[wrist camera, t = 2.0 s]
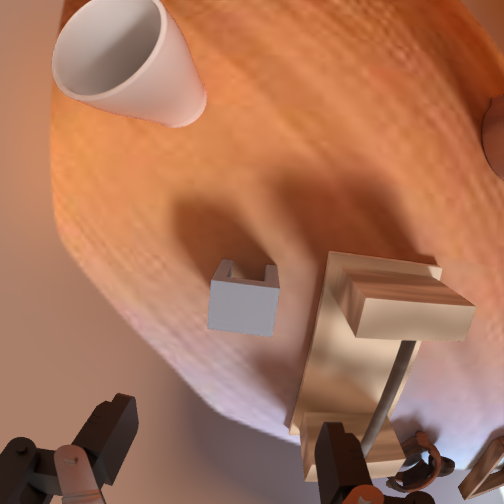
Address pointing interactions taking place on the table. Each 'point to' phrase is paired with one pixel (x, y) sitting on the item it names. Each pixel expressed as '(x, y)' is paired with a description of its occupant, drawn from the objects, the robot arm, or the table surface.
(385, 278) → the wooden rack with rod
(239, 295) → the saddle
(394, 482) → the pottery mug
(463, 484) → the open wooden frame
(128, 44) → the drinking glass
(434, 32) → the table surface
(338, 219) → the table surface
